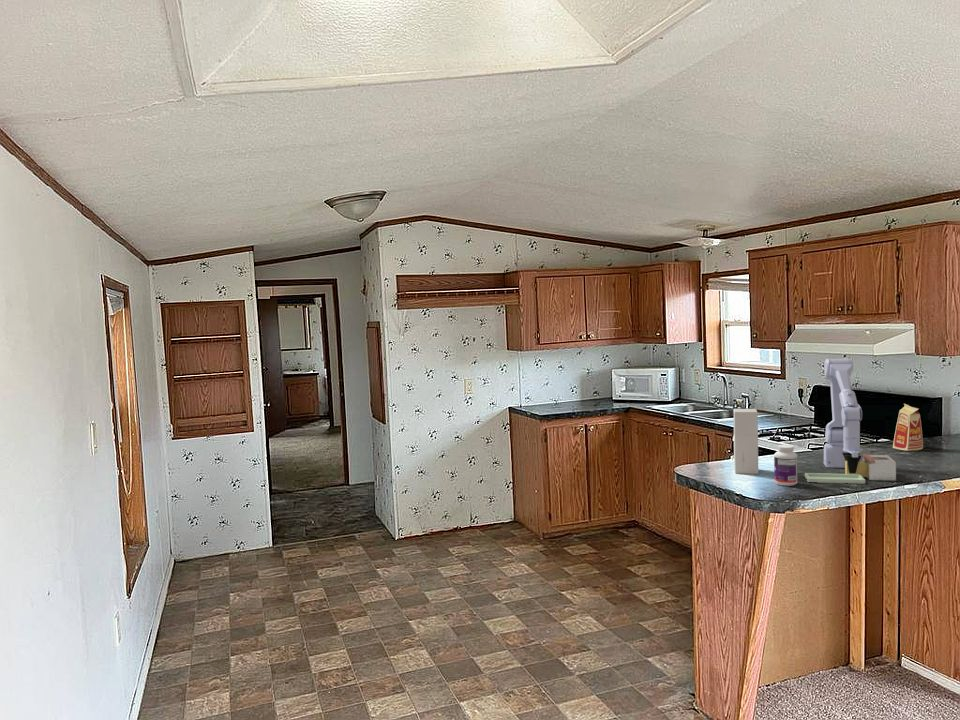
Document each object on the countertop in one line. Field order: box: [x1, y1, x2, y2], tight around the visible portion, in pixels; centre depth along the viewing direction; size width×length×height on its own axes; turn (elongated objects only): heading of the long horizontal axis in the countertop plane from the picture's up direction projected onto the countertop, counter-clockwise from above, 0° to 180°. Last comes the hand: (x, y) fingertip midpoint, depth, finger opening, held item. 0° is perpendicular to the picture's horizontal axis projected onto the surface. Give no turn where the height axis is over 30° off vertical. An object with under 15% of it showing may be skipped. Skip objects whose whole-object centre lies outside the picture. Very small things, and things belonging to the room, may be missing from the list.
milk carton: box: [892, 403, 924, 452], centre depth 345 cm, size 9×9×20 cm
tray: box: [804, 472, 866, 485], centre depth 294 cm, size 20×10×2 cm, turn 74°
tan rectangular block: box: [844, 460, 867, 478], centre depth 299 cm, size 12×3×6 cm, turn 74°
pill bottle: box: [773, 444, 798, 487], centre depth 290 cm, size 8×8×14 cm
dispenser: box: [861, 453, 897, 482], centre depth 297 cm, size 9×13×7 cm
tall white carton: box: [733, 408, 759, 475], centre depth 313 cm, size 9×9×25 cm
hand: (851, 472), depth 300 cm, fingers closed on tan rectangular block, 3 cm apart
